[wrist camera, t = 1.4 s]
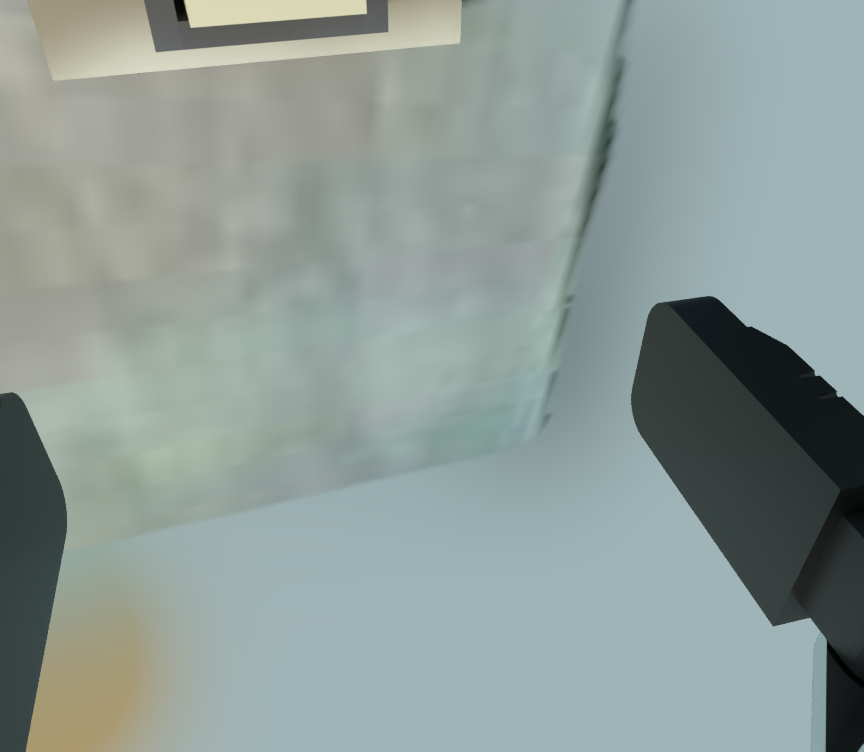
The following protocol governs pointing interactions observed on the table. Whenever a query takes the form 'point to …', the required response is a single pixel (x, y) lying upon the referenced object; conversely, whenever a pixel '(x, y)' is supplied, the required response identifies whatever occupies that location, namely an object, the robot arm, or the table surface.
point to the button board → (222, 35)
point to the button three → (266, 10)
